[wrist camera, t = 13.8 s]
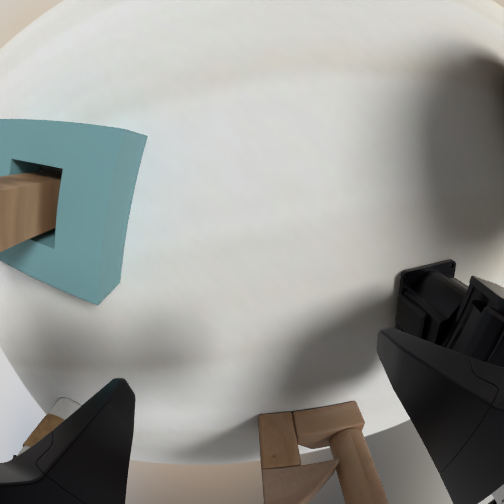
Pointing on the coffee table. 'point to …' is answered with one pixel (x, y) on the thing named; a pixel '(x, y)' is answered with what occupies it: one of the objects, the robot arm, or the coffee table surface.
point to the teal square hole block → (76, 201)
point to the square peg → (27, 206)
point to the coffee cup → (51, 421)
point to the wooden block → (316, 475)
